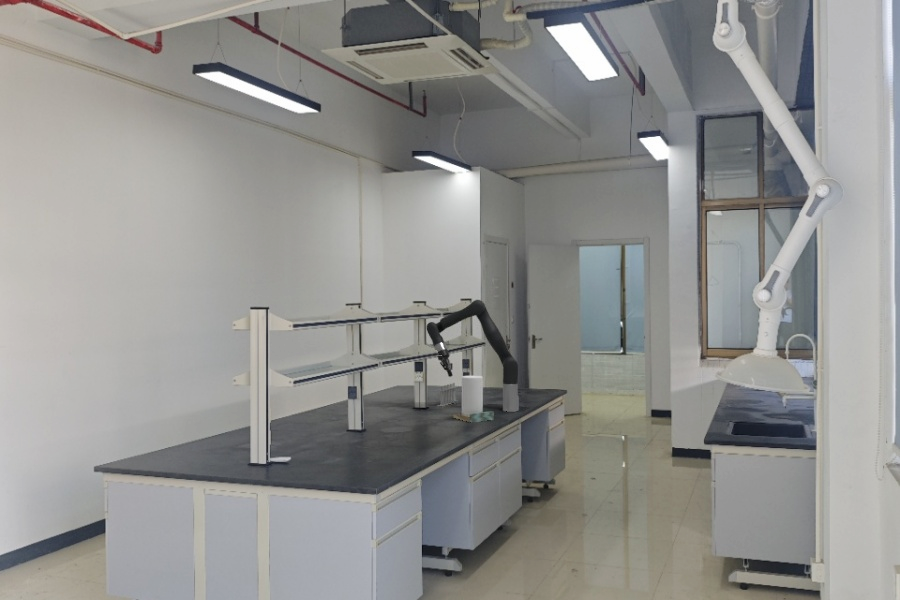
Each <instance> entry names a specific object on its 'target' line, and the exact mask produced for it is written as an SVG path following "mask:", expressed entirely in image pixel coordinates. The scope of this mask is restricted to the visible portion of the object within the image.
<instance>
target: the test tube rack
mask: <svg viewBox="0 0 900 600" xmlns="http://www.w3.org/2000/svg"><path fill="white" fill-rule="evenodd" d="M440 387H441V388H439V389H436V390H437V391H439V392H440V395H439V396H440V400H439V403H440V404H438V405H436V406H445V405H448V404H451V403H449V402H452V401H453V402H454V401H457V399H456V390H457V389H456V388H458V387H459V385H456V384H455V382H452V383H449V384H444V385H441V386H440ZM451 405H452V404H451ZM448 406H449V405H448ZM445 407H446V406H445Z"/></svg>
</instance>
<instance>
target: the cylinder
mask: <svg viewBox="0 0 900 600" xmlns="http://www.w3.org/2000/svg"><path fill="white" fill-rule="evenodd" d="M483 381H484V377H483V375H462V376H461V415H465V416H469V417H470V414H472V413H481V412H484V411H483V409H484V408H483V407H484V406H483V404H484V403H483V402H484V401H483V399H484V397H483V396H484V382H483Z"/></svg>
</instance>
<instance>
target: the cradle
mask: <svg viewBox="0 0 900 600" xmlns="http://www.w3.org/2000/svg"><path fill="white" fill-rule="evenodd" d="M494 414H495V412H494V411H483V412H481V413H472V414H470V417H469V416H465V415H462V414H460V413H456V412H455V413H453V419H454V418H456V419H455V420H458V419H460V420H459V421H462V420H463V422H466V421H467V423H470V422H471V424H472V422H474V423H481V421H482V422H488V421H487V420H491V421H494V420H495V419H494V417H495V416H494Z"/></svg>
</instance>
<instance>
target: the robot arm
mask: <svg viewBox="0 0 900 600" xmlns="http://www.w3.org/2000/svg"><path fill="white" fill-rule="evenodd" d="M471 317H476V318H477V319H478V321H479V323H480V326H481V328H482V331H483V334H484V336H485V338H486V340H487V341H488V343H489V345H490V346H491V347H492V349H493V351H494V352H495V353H496V355H497V356H498V358H499V360H500V362H501V365H502V369H503V370H502V372H503V373H502V375H503V376H502V411H503V412H506V411H507V413H512V412H513V413H514V412H517V411H519V410H520V407H519V405H520V404H519V403H520V401H519V400H520V399H519V398H520V396H519V395H518V394H519V393H518V391H519V390H518V381H519V364H518V362H517V360H516V359H515V358H514V357H513V355H512V354H511V352H510V350H509V349H508V346H507V345H506V342H505V339H504V337H503V335H502V333H501V332H500V329H499V328H498V327H497V325H496V323H495V322H494V321H493V319H492V317H491V315H490V313H489V311H488V309H487V307H486V304H485V303H484V301H482V300H481V299H475V300H473V301H472V302H471V303H470V304H469V305H467V306H466V307H465V308H462V309H460V310H458V311H455V312H453V313H450V314H448V315H445V316H444V317H442V318H440V320H439V321H438V322H437V323H435V322H434V321H430V322H428V323H427V324H426V332H427V334H428V336H429V338H430V340H431V341H432V346H433V348H434V351H435V350H437V351H438V353H439V355H442V356H437V355H436V357H437V359H438V361H440V362H439V364H440V366H441V367H442V368H443V370H444V371H445V372H447V375H448V377H450V378H451V377H453V372H452V371H453V363H452V362H450V359H449V358H450V357H451V356H450V353H449V351H448V347H447V345H446V343H445V340H444V338H443V336H442V335H441V333H442V332H443V331H445V330H447V329H448V328H450V327H453V326H454V325H456V324H458V323H460V322H462V321H463V320H466V319H468V318H471Z"/></svg>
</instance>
